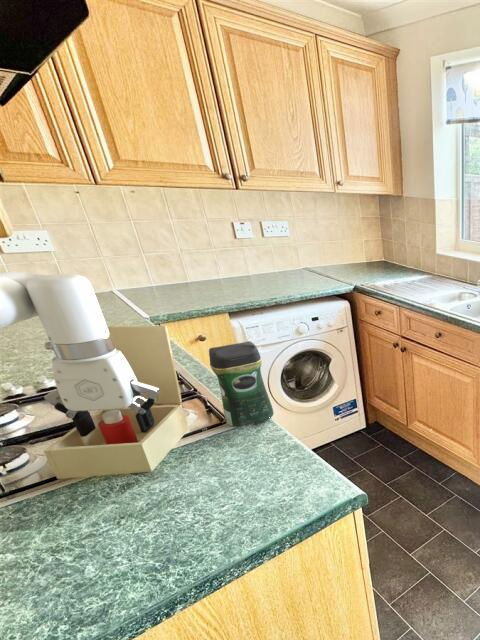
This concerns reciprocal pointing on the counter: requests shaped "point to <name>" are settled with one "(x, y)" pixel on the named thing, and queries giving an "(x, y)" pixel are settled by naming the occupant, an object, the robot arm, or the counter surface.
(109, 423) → the ketchup bottle
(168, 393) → the bin lid
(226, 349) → the coffee jar
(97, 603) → the counter surface
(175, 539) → the counter surface
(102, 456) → the bin
